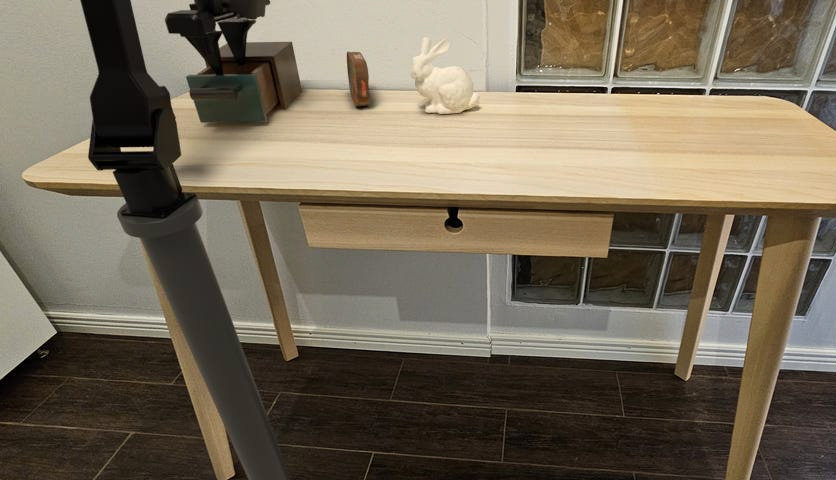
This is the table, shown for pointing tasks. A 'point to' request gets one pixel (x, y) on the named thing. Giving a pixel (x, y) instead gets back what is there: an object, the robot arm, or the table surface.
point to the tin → (358, 78)
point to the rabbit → (442, 81)
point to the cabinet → (273, 67)
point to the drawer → (234, 92)
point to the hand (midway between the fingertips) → (231, 69)
